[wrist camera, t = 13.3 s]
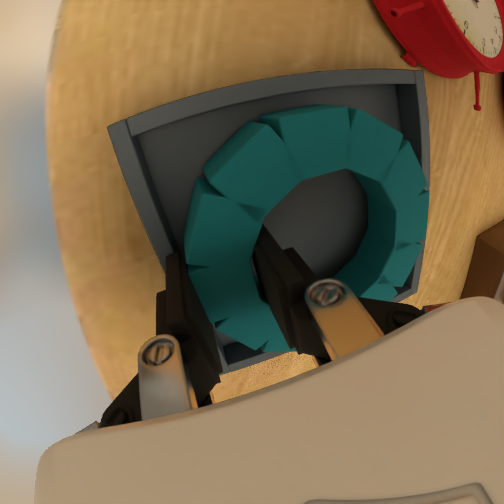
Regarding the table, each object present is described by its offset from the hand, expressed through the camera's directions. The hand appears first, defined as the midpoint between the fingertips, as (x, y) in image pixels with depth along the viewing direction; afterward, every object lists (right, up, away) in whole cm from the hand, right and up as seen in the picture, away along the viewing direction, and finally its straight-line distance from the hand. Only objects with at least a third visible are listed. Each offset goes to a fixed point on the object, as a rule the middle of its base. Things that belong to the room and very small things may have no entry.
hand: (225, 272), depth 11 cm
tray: (+4, +2, +2) cm, 5 cm away
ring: (+4, +2, +1) cm, 4 cm away
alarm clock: (+12, +17, -3) cm, 21 cm away
